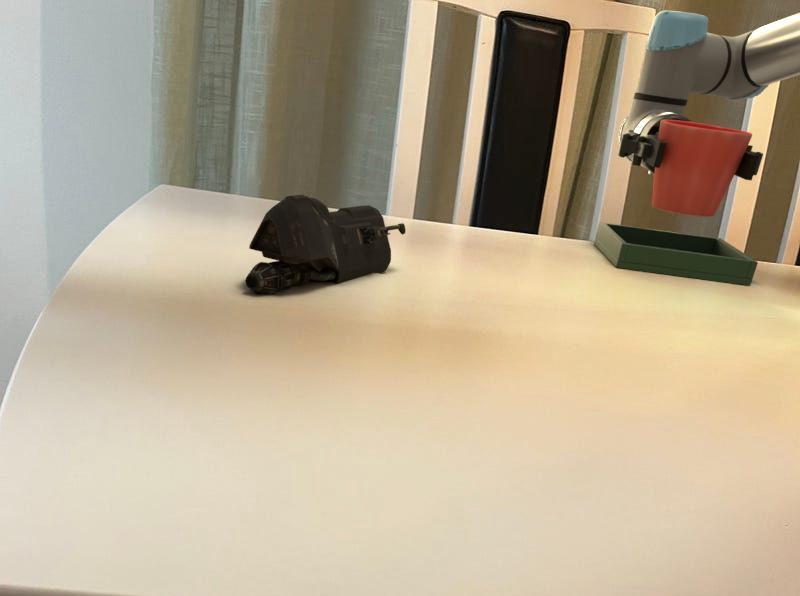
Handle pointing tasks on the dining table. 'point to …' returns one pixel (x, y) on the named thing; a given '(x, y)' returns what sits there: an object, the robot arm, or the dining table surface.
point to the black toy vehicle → (318, 244)
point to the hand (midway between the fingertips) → (706, 161)
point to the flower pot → (696, 166)
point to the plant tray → (674, 254)
